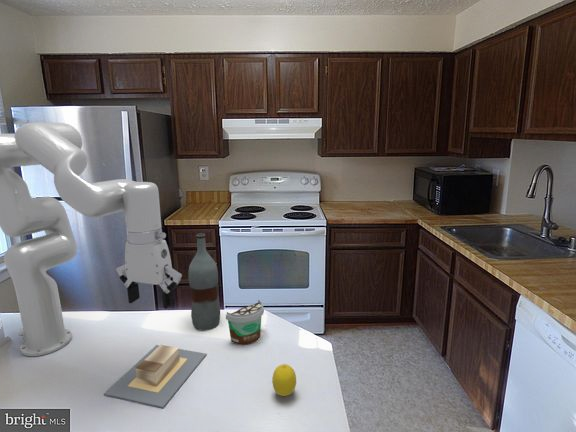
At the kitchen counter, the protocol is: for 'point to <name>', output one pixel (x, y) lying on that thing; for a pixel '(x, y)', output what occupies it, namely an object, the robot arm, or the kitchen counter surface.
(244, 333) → the food container
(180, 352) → the mat
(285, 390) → the lemon
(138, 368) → the birch block
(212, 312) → the bottle
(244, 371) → the kitchen counter surface
